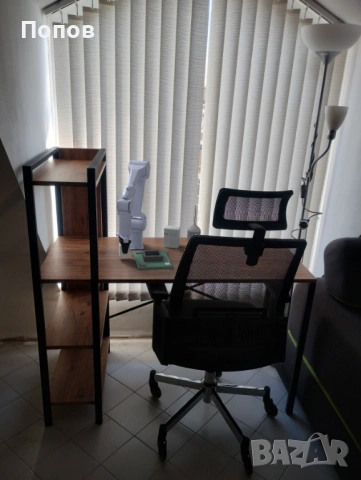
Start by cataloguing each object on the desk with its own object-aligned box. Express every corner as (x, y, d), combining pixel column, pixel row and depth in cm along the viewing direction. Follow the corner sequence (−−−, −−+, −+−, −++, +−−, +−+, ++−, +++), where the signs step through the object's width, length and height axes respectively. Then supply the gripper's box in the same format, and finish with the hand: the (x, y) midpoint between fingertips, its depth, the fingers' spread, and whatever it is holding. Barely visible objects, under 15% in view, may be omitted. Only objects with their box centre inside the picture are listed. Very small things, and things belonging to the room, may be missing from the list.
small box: (179, 245, 210) (180, 226, 207) (178, 248, 205) (179, 229, 202) (164, 243, 211) (165, 224, 208) (163, 247, 206) (163, 228, 202)
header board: (133, 252, 196) (133, 246, 195) (164, 251, 200) (165, 245, 199) (137, 269, 178) (137, 262, 177) (172, 267, 181) (172, 260, 180)
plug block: (118, 253, 188) (119, 242, 187) (129, 253, 190) (129, 242, 188) (119, 256, 185) (119, 245, 183) (130, 256, 186) (130, 245, 184)
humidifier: (185, 249, 205) (189, 202, 197) (201, 250, 204) (205, 204, 196) (183, 254, 198) (186, 206, 189) (199, 256, 197) (203, 208, 188)
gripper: (115, 219, 188) (115, 246, 192) (117, 229, 174) (117, 257, 179) (130, 219, 189) (129, 246, 194) (133, 229, 176) (132, 257, 181)
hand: (124, 251), depth 187 cm, fingers closed on plug block, 4 cm apart
